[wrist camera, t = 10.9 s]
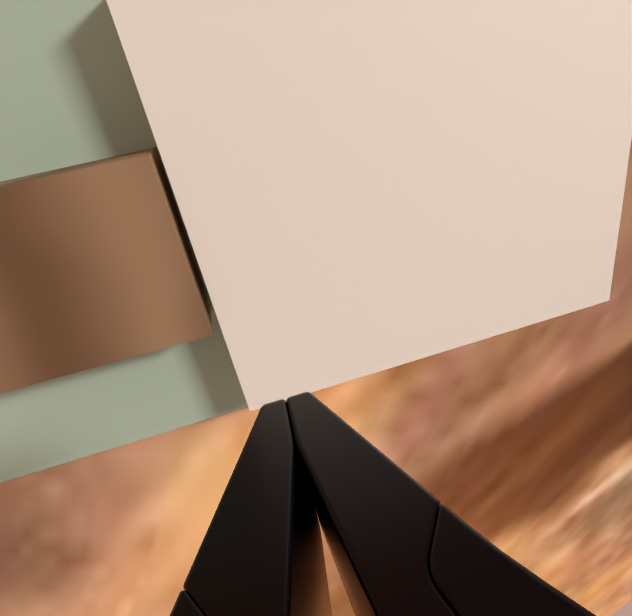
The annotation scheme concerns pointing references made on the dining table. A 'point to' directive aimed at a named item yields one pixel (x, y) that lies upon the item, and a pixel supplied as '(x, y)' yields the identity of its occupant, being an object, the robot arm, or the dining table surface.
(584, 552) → the dining table surface
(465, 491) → the dining table surface
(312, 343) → the deck
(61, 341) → the walnut tile
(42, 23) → the mat
